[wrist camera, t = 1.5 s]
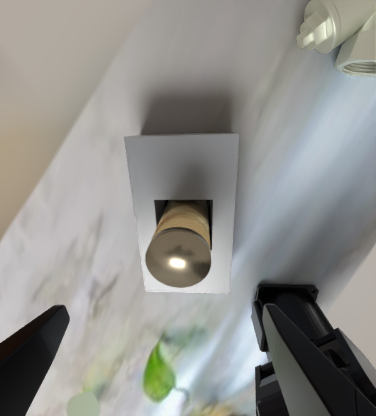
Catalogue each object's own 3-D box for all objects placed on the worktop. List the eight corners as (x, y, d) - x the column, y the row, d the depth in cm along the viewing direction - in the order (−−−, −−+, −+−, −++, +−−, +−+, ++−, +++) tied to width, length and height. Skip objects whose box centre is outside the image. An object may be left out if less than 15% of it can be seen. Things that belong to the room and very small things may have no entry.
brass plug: (207, 189, 19) (211, 232, 11) (207, 226, 21) (210, 288, 13) (165, 189, 19) (141, 232, 12) (168, 226, 21) (148, 287, 13)
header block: (231, 132, 17) (239, 133, 14) (225, 266, 23) (229, 293, 19) (140, 134, 18) (124, 137, 14) (154, 264, 23) (145, 291, 19)
